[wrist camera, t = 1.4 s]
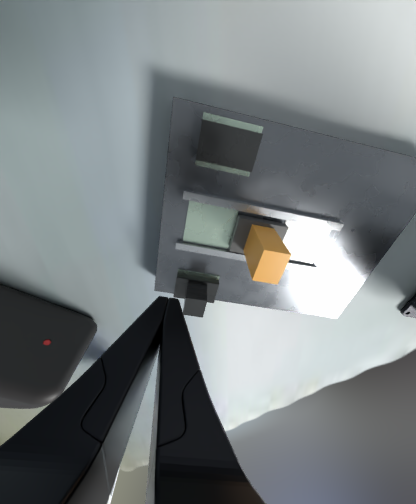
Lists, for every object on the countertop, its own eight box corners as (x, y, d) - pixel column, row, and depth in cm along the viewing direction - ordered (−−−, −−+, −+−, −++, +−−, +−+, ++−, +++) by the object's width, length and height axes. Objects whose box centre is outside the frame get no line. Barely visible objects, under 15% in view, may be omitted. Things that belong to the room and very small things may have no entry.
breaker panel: (425, 162, 17) (501, 173, 12) (327, 306, 25) (352, 343, 20) (177, 100, 15) (164, 88, 10) (158, 279, 23) (146, 314, 18)
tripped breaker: (285, 223, 17) (310, 253, 13) (272, 254, 18) (290, 290, 14) (238, 214, 16) (248, 242, 12) (228, 246, 18) (235, 281, 14)
